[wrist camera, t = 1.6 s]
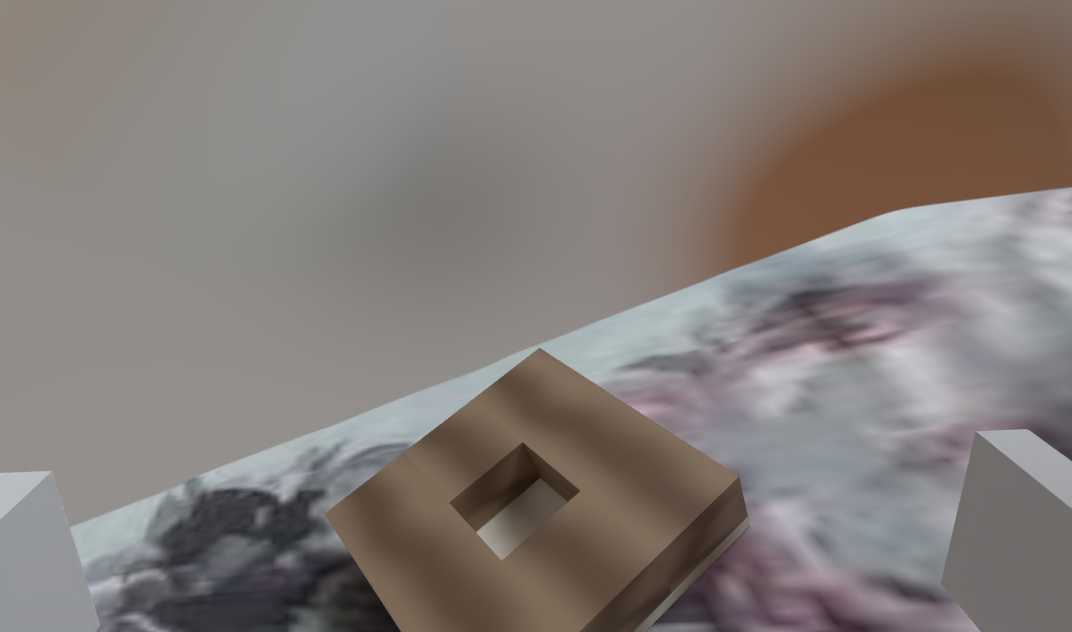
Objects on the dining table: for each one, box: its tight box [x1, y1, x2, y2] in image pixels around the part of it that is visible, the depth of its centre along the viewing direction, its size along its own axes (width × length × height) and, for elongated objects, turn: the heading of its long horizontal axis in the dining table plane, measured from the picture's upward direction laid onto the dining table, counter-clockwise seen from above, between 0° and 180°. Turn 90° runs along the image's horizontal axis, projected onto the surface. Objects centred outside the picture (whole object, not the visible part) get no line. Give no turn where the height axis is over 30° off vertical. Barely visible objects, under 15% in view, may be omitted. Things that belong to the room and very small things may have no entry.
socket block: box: [325, 348, 750, 632], centre depth 47 cm, size 20×20×5 cm
